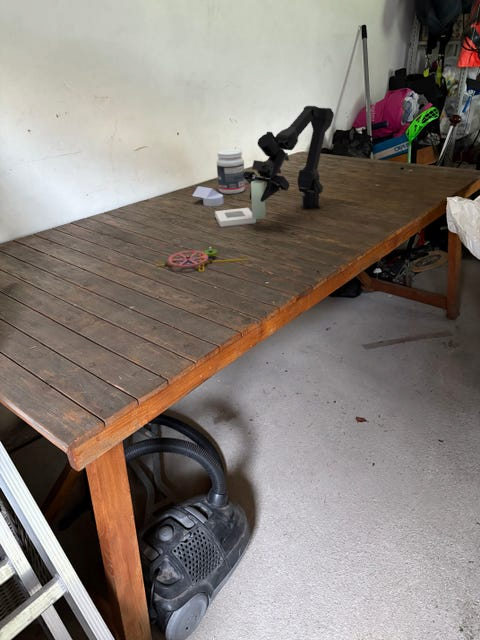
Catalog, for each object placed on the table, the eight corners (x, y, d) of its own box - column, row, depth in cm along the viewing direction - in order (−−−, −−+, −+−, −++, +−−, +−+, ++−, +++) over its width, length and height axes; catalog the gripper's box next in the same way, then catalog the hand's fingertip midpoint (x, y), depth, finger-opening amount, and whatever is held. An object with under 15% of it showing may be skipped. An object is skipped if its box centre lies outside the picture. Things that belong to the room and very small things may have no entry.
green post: (263, 214, 193) (262, 179, 186) (266, 217, 188) (266, 183, 182) (251, 215, 192) (249, 181, 186) (253, 219, 188) (252, 184, 181)
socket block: (248, 213, 210) (248, 207, 208) (255, 223, 197) (255, 217, 196) (215, 216, 207) (214, 211, 206) (220, 227, 195) (220, 221, 194)
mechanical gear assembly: (157, 258, 171) (154, 278, 158) (156, 247, 168) (152, 266, 156) (245, 252, 172) (249, 271, 159) (245, 241, 170) (248, 259, 157)
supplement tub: (217, 188, 248) (214, 150, 239) (243, 186, 248) (241, 148, 240) (219, 195, 236) (216, 155, 227) (246, 193, 237) (245, 153, 228)
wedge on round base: (192, 203, 227) (214, 207, 220) (191, 188, 224) (213, 192, 217) (205, 198, 233) (227, 202, 226) (204, 183, 230) (226, 187, 223)
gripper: (244, 148, 187) (226, 184, 185) (284, 153, 176) (265, 192, 174) (258, 166, 196) (241, 200, 194) (297, 171, 184) (279, 208, 183)
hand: (255, 200), depth 186 cm, fingers closed on green post, 5 cm apart
